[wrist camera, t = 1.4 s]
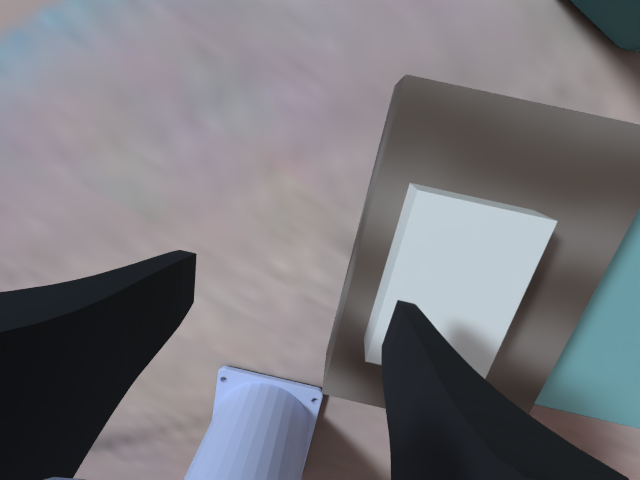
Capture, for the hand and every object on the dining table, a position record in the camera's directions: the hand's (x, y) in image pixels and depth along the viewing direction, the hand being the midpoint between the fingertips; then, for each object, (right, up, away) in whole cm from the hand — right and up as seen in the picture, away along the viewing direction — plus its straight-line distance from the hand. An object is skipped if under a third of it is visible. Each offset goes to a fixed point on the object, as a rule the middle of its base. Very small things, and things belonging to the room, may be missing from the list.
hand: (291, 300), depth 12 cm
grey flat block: (+9, +1, +9) cm, 13 cm away
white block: (+7, 0, +6) cm, 9 cm away
